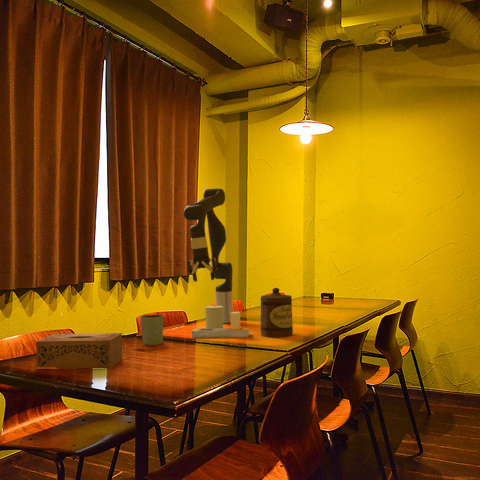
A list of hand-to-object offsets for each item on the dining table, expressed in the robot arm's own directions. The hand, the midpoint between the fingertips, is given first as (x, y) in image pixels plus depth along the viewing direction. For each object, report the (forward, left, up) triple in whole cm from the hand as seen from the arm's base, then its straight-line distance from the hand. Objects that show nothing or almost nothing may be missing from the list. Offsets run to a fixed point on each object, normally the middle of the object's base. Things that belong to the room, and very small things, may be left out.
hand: (204, 280), depth 228 cm
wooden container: (0, +34, -26) cm, 43 cm away
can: (-16, +2, -26) cm, 30 cm away
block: (+3, +15, -26) cm, 30 cm away
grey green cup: (+20, -20, -26) cm, 38 cm away
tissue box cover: (+59, -35, -26) cm, 74 cm away
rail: (+3, +8, -26) cm, 27 cm away
